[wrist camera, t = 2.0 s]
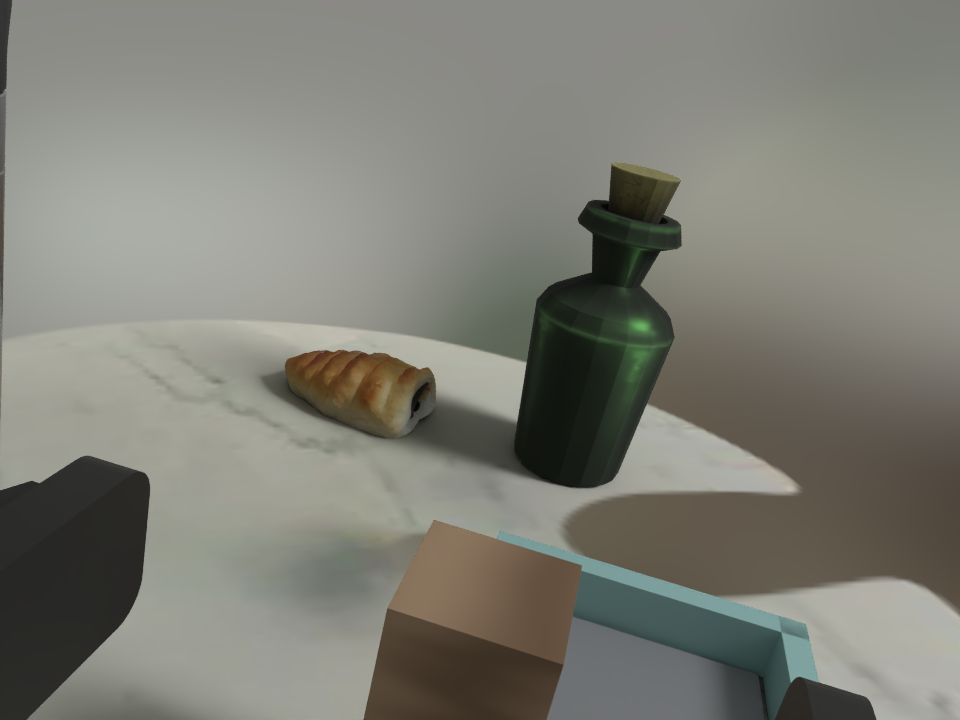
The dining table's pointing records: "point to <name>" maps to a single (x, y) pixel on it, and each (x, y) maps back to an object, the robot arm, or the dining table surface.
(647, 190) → the potion bottle
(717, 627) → the teal corner fixture
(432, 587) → the walnut block
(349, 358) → the pastry
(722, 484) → the dining table surface
